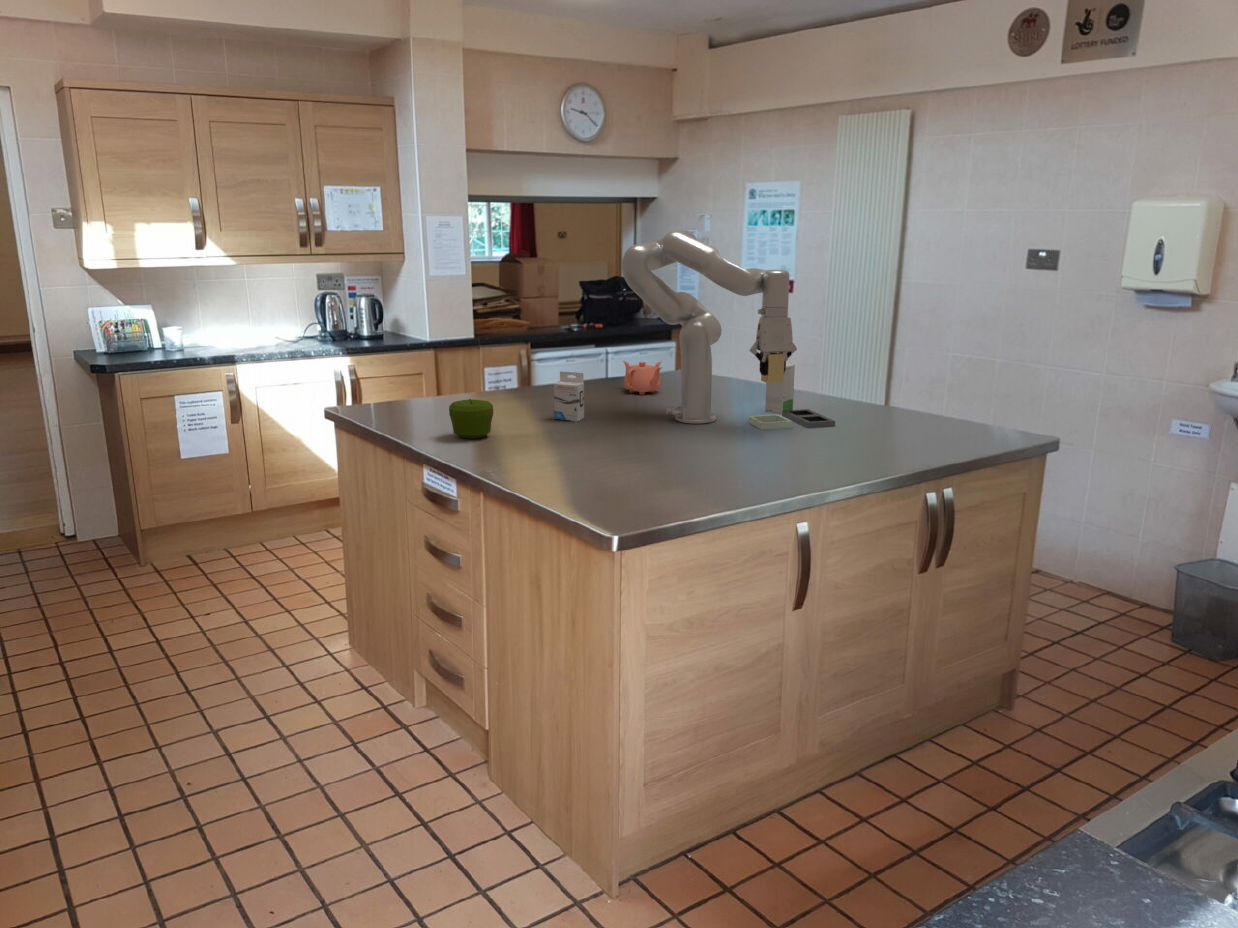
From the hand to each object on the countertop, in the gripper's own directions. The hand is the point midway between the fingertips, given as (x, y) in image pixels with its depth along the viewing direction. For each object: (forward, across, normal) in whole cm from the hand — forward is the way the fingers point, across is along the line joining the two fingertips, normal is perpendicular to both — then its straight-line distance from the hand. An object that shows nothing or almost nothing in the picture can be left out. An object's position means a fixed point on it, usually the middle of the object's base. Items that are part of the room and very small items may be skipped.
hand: (772, 373), depth 276 cm
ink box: (+16, -57, +26) cm, 64 cm away
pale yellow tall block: (+2, 0, 0) cm, 2 cm away
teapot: (+16, -21, +64) cm, 69 cm away
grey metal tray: (+16, +13, +2) cm, 21 cm away
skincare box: (+17, +11, +19) cm, 28 cm away
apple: (+16, -88, +11) cm, 91 cm away
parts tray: (+16, 0, 0) cm, 16 cm away
